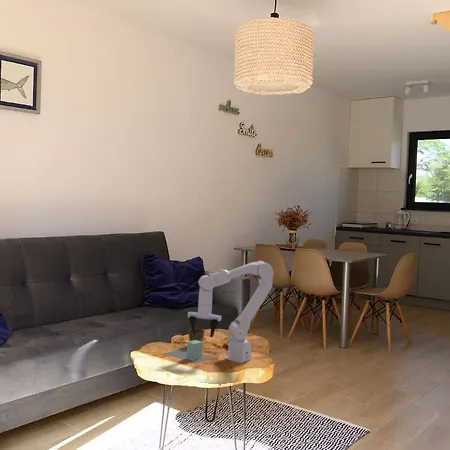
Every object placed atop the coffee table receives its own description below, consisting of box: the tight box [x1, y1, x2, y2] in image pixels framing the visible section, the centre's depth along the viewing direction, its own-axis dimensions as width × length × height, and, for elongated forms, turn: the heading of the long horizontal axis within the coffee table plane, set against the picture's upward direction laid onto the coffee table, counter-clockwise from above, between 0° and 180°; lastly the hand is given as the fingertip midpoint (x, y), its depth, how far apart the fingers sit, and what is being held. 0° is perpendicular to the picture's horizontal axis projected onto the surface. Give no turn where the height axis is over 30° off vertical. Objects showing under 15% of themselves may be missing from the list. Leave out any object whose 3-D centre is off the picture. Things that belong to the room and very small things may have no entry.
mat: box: [164, 348, 214, 364], centre depth 235 cm, size 18×12×1 cm, turn 50°
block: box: [186, 340, 203, 360], centre depth 231 cm, size 4×5×7 cm
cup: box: [188, 328, 205, 343], centre depth 250 cm, size 8×7×8 cm
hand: (203, 335), depth 231 cm, fingers open, 7 cm apart
